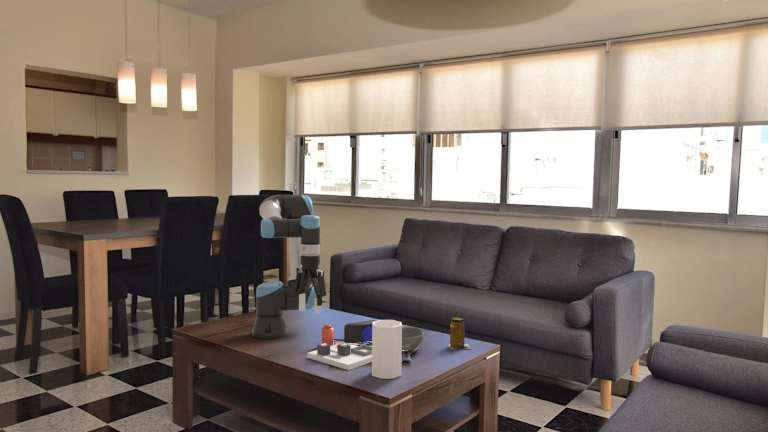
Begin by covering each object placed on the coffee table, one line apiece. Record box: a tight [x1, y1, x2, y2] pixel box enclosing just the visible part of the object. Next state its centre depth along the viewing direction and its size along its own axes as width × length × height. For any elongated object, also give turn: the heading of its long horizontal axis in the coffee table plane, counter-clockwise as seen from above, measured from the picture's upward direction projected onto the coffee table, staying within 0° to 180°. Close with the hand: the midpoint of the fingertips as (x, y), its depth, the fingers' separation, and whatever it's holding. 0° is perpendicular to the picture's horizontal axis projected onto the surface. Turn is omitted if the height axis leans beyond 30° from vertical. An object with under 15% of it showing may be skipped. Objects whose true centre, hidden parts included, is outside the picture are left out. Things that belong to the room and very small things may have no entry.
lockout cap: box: [321, 323, 335, 346], centre depth 236 cm, size 5×5×9 cm
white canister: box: [371, 319, 403, 380], centre depth 203 cm, size 11×11×18 cm
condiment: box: [448, 317, 471, 350], centre depth 238 cm, size 7×8×12 cm
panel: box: [306, 341, 372, 371], centre depth 222 cm, size 22×20×4 cm
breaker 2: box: [338, 344, 350, 356], centre depth 219 cm, size 4×3×4 cm
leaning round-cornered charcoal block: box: [343, 319, 377, 343], centre depth 241 cm, size 16×5×9 cm, turn 124°
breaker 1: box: [316, 342, 330, 356], centre depth 219 cm, size 4×3×4 cm
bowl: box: [402, 326, 425, 352], centre depth 233 cm, size 18×18×8 cm
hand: (309, 311), depth 224 cm, fingers open, 8 cm apart
